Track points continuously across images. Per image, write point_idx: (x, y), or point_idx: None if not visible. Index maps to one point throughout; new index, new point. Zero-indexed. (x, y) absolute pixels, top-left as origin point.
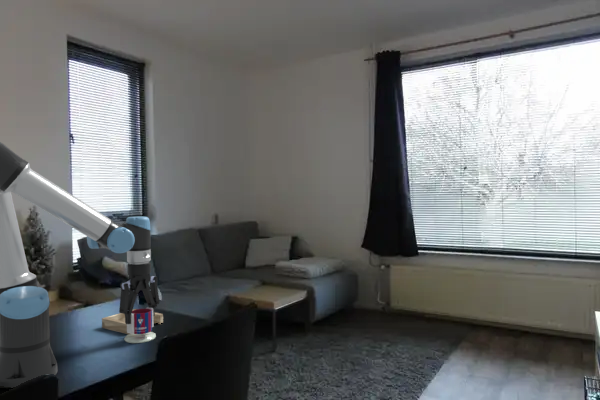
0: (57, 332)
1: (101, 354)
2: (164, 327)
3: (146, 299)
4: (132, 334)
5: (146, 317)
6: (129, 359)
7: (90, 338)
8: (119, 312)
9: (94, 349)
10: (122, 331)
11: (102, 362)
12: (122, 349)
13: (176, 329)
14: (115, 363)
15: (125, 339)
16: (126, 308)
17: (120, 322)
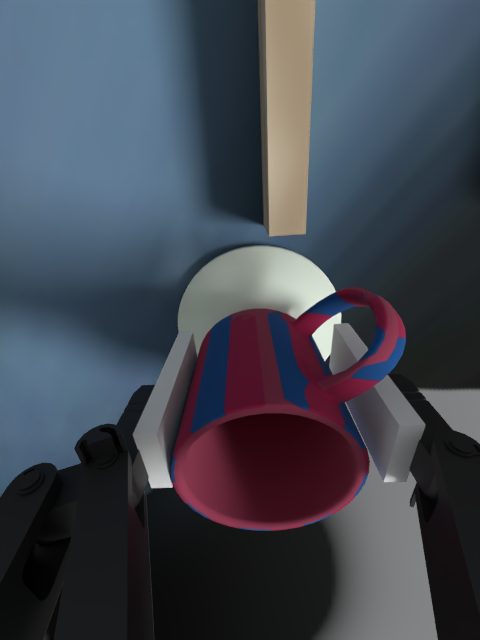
0: None
1: (27, 360)
2: (465, 286)
3: (457, 558)
4: (255, 268)
5: (251, 491)
6: None
7: (33, 26)
8: (20, 474)
9: (12, 280)
10: (261, 140)
11: (12, 423)
12: (120, 379)
13: (448, 362)
14: (48, 455)
15: (179, 310)
16: (50, 578)
17: (269, 85)
